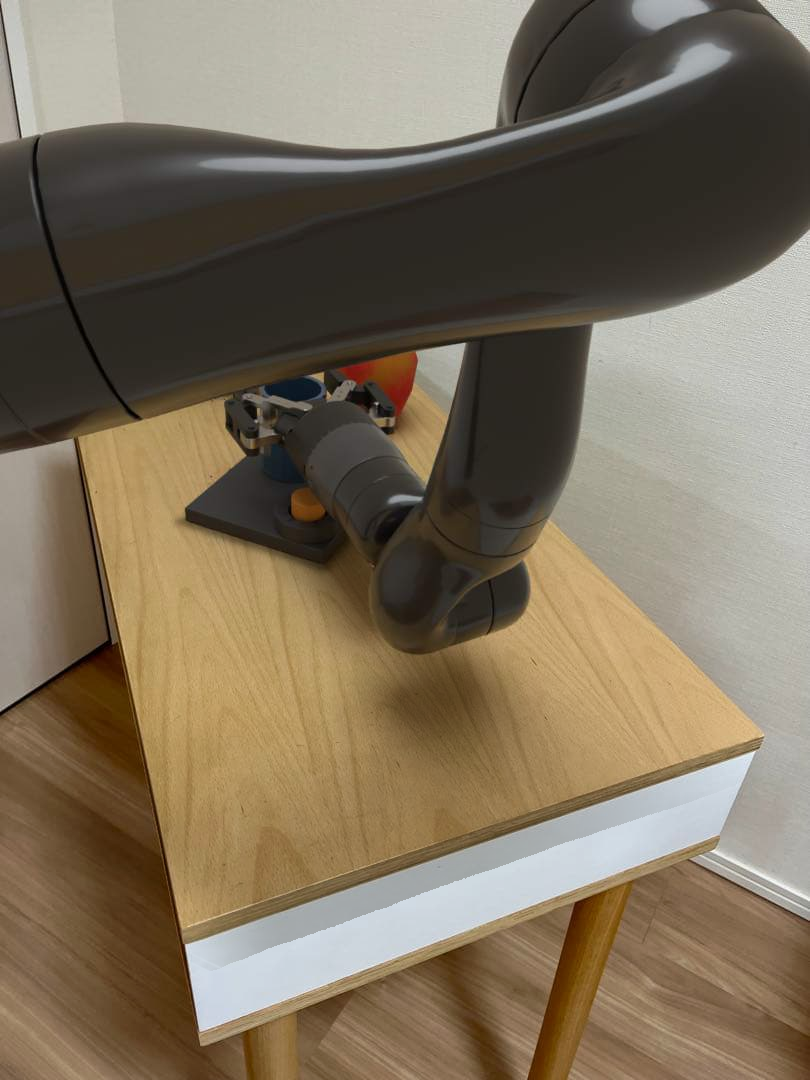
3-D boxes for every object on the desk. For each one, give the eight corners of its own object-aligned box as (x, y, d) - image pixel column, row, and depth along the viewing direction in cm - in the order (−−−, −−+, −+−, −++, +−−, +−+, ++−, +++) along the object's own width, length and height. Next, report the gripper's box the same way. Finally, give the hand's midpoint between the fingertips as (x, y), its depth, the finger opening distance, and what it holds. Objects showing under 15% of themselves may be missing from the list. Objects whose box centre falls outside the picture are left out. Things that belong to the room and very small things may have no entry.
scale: (323, 564, 71) (323, 536, 69) (185, 520, 75) (182, 493, 73) (394, 478, 83) (396, 452, 81) (273, 444, 87) (272, 419, 85)
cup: (306, 489, 78) (307, 409, 73) (249, 472, 79) (246, 393, 74) (335, 460, 82) (337, 383, 77) (281, 445, 84) (280, 368, 79)
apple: (342, 444, 88) (345, 338, 81) (322, 406, 95) (323, 305, 88) (423, 436, 91) (433, 333, 84) (397, 399, 97) (405, 301, 90)
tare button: (315, 526, 71) (316, 509, 70) (285, 517, 72) (285, 500, 71) (331, 509, 73) (331, 492, 72) (301, 500, 74) (301, 483, 73)
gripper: (435, 412, 66) (355, 335, 77) (265, 439, 60) (206, 351, 72) (426, 490, 70) (352, 406, 82) (267, 522, 65) (211, 427, 76)
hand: (284, 380), depth 77 cm, fingers open, 8 cm apart
